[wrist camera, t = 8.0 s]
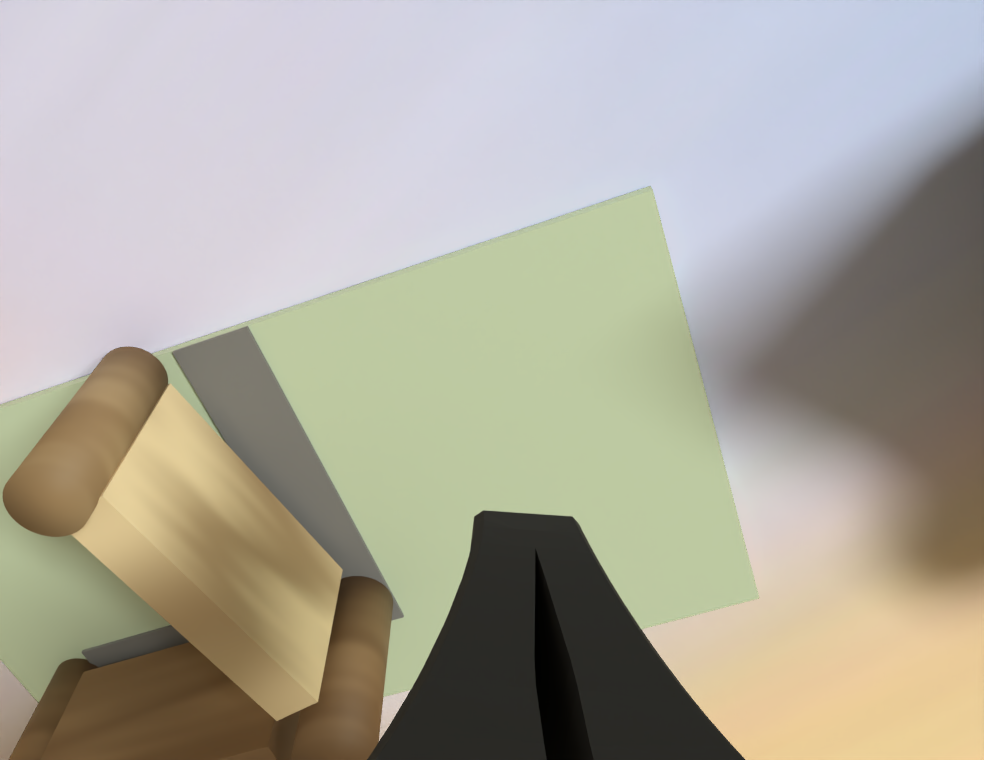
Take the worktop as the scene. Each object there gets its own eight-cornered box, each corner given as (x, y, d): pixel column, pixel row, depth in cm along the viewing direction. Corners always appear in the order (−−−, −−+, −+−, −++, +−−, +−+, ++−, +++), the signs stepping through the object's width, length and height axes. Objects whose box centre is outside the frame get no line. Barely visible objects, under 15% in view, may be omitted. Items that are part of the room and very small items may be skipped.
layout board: (-163, 459, 23) (-173, 468, 23) (650, 185, 20) (653, 191, 19) (102, 763, 29) (97, 774, 29) (756, 591, 26) (760, 600, 26)
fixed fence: (45, 653, 27) (-54, 833, 22) (378, 558, 25) (355, 728, 20) (82, 696, 28) (-6, 878, 22) (404, 607, 26) (388, 781, 21)
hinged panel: (348, 566, 24) (321, 716, 20) (302, 590, 24) (265, 742, 20) (136, 335, 21) (46, 456, 16) (85, 367, 21) (-16, 493, 17)
